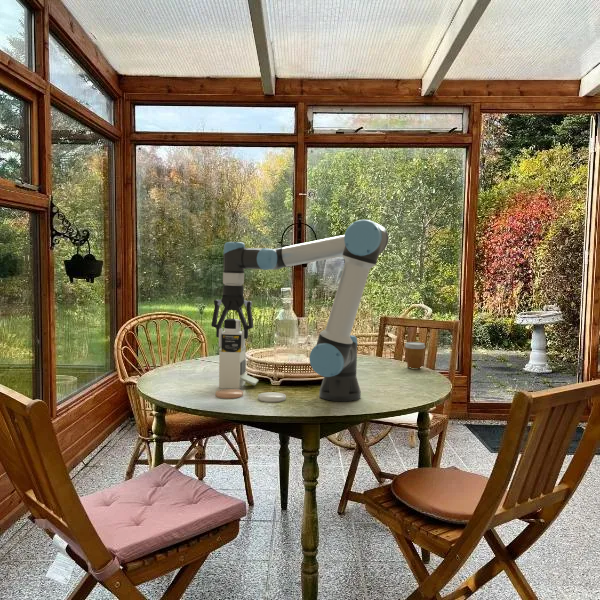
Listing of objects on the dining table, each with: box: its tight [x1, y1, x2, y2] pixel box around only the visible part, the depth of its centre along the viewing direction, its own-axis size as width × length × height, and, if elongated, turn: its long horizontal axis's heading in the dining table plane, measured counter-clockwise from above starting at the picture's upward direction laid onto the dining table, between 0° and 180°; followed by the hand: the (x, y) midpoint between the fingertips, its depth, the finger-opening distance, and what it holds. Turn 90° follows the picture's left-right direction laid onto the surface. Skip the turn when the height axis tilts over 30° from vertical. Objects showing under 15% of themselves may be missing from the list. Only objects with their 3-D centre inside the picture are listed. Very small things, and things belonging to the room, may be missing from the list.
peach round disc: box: [215, 388, 244, 400], centre depth 203 cm, size 10×10×1 cm
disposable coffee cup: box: [404, 341, 426, 368], centre depth 264 cm, size 10×10×12 cm
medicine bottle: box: [220, 318, 242, 353], centre depth 203 cm, size 7×7×12 cm
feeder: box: [218, 345, 259, 390], centre depth 218 cm, size 14×10×15 cm
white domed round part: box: [257, 391, 287, 403], centre depth 199 cm, size 10×10×1 cm
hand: (231, 346), depth 203 cm, fingers closed on medicine bottle, 8 cm apart
